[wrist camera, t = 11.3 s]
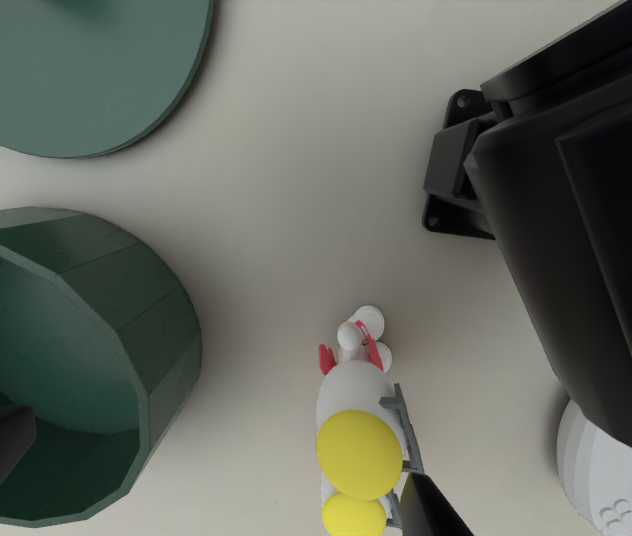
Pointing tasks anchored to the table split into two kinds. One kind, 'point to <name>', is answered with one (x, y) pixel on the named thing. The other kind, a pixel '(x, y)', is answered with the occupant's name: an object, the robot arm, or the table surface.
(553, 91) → the robot arm
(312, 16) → the table surface
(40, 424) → the pot
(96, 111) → the lid
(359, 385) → the toy figures
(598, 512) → the game controller
